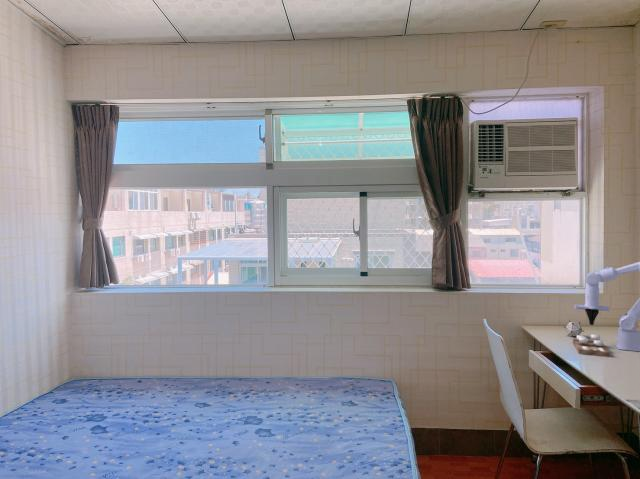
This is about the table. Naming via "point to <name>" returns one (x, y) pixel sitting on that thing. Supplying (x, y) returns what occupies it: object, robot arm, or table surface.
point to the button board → (590, 348)
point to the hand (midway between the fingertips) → (591, 324)
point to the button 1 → (583, 339)
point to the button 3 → (598, 343)
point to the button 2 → (595, 337)
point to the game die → (573, 328)
